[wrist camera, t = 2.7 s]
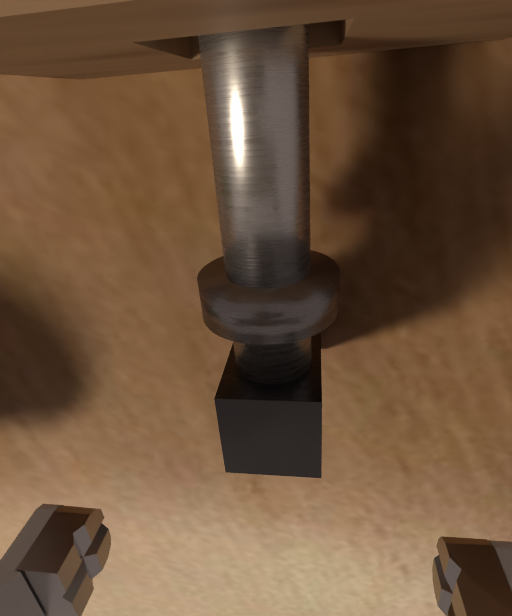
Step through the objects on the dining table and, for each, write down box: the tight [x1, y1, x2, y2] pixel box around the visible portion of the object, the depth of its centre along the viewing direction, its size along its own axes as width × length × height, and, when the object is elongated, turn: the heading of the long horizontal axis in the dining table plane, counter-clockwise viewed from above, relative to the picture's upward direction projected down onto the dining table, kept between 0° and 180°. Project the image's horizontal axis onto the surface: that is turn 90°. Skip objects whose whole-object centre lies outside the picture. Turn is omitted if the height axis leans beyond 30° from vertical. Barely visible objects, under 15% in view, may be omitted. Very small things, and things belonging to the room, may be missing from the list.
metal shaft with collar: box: [197, 24, 340, 478], centre depth 11 cm, size 20×4×7 cm, turn 4°
